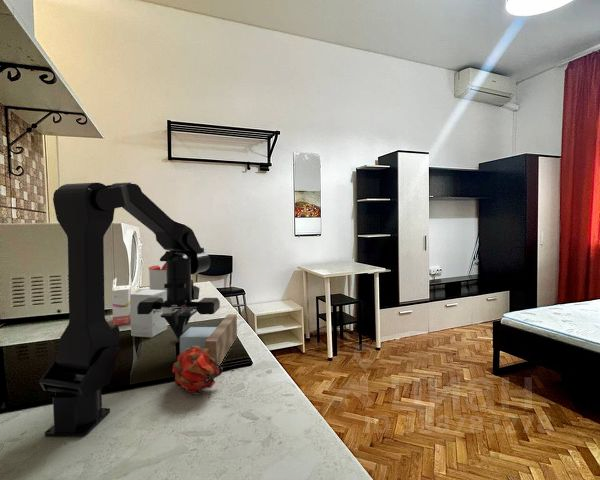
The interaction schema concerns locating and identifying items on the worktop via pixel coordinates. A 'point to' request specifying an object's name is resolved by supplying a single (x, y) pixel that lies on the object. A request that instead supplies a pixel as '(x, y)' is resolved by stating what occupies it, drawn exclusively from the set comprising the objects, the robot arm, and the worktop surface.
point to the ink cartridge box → (121, 303)
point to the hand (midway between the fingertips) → (180, 339)
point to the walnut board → (222, 338)
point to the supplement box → (147, 315)
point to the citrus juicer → (158, 278)
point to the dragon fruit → (195, 369)
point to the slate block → (195, 337)
